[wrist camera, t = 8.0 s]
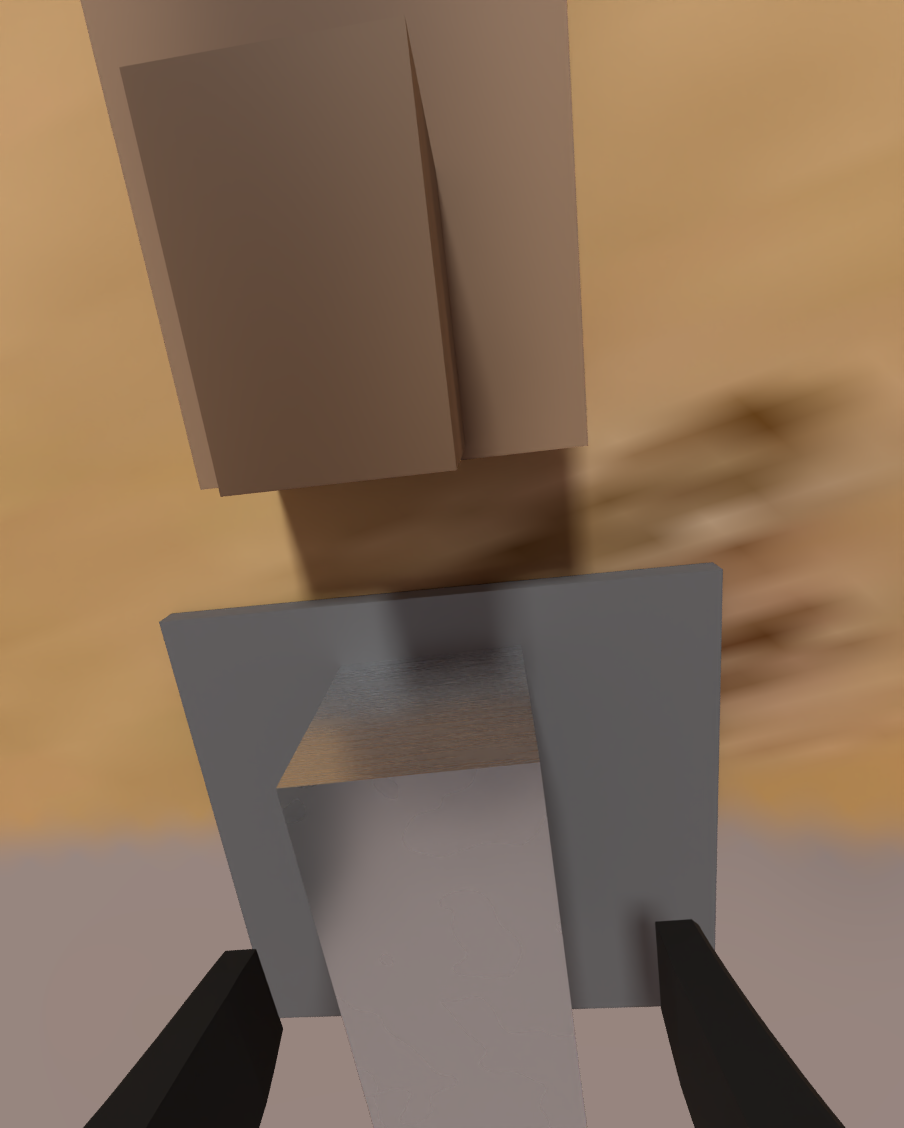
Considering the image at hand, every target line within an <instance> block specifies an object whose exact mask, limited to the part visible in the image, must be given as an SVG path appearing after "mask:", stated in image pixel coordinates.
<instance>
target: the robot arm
mask: <svg viewBox="0 0 904 1128" xmlns="http://www.w3.org/2000/svg"><path fill="white" fill-rule="evenodd" d="M655 930H656V944H657V958H658V972H659V986H660V1000H661V1010H662V1014H663V1018H664V1022H665V1026H666V1029H667V1034H668V1038H669V1042H670V1046H671V1050H672V1054H673V1058H674V1061H675V1065H676V1069H677V1073H678V1076H679V1081H680V1085H681V1088H682V1091H683V1094H684V1097H685V1100H686V1103H687V1106H688V1109H689V1112H690V1115H691V1118H692V1121H693V1124H694V1126H695V1128H845V1126H844V1125H843V1124H842V1123H841V1122H840V1120H839V1119H838V1118H837V1117H836V1115H835V1114H834V1113H833V1112H832V1111H831V1109H830V1108H829V1107H828V1106H827V1104H826V1103H825V1102H824V1100H823V1099H822V1098H821V1097H820V1095H819V1094H818V1093H817V1092H816V1090H815V1089H814V1088H813V1087H812V1085H811V1084H810V1083H809V1082H808V1080H807V1079H806V1078H805V1077H804V1075H803V1074H802V1073H801V1071H800V1070H799V1068H798V1067H797V1066H796V1064H795V1063H794V1062H793V1060H792V1059H791V1058H790V1057H789V1055H788V1054H787V1052H786V1051H785V1050H784V1049H783V1047H782V1046H781V1045H780V1043H779V1042H778V1041H777V1039H776V1038H775V1037H774V1035H773V1034H772V1033H771V1031H770V1030H769V1029H768V1027H767V1026H766V1024H765V1023H764V1022H763V1020H762V1019H761V1018H760V1016H759V1015H758V1014H757V1012H756V1011H755V1009H754V1008H753V1007H752V1005H751V1004H750V1002H749V1001H748V999H747V998H746V996H745V995H744V994H743V992H742V991H741V989H740V988H739V986H738V985H737V984H736V982H735V981H734V979H733V978H732V976H731V975H730V973H729V972H728V970H727V969H726V968H725V966H724V964H723V963H722V961H721V960H720V958H719V957H718V955H717V954H716V952H715V950H714V949H713V947H712V946H711V944H710V943H709V941H708V939H707V938H706V936H705V935H704V933H703V931H702V929H701V928H700V926H699V924H697V923H696V922H695V921H693V920H692V919H686V920H671V921H656V922H655ZM282 1031H283V1027H282V1024H281V1021H280V1018H279V1015H278V1012H277V1009H276V1006H275V1003H274V1000H273V997H272V994H271V991H270V988H269V985H268V982H267V980H266V977H265V974H264V971H263V968H262V965H261V962H260V959H259V956H258V953H257V950H256V949H249V950H248V949H247V950H233V951H225V952H224V953H223V954H222V956H221V957H220V958H219V959H218V961H217V962H216V963H215V964H214V966H213V967H212V968H211V969H210V970H209V972H208V973H207V974H206V976H205V977H204V978H203V979H202V981H201V982H200V983H199V985H198V986H197V987H196V988H195V990H194V991H193V992H192V993H191V995H190V996H189V997H188V999H187V1000H186V1001H185V1002H184V1004H183V1005H182V1006H181V1008H180V1009H179V1010H178V1011H177V1013H176V1014H175V1015H174V1017H173V1018H172V1019H171V1020H170V1022H169V1023H168V1024H167V1025H166V1027H165V1028H164V1029H163V1030H162V1032H161V1033H160V1034H159V1036H158V1037H157V1038H156V1039H155V1041H154V1042H153V1043H152V1044H151V1046H150V1047H149V1048H148V1050H147V1051H146V1052H145V1053H144V1054H143V1056H142V1057H141V1058H140V1059H139V1061H138V1062H137V1063H136V1064H135V1066H134V1067H133V1068H132V1069H131V1071H130V1072H129V1073H128V1074H127V1076H126V1077H125V1078H124V1079H123V1080H122V1082H121V1083H120V1084H119V1086H118V1087H117V1088H116V1089H115V1091H114V1092H113V1093H112V1094H111V1095H110V1096H109V1098H108V1099H107V1100H106V1101H105V1103H104V1104H103V1105H102V1106H101V1107H100V1109H99V1110H98V1111H97V1112H96V1113H95V1114H94V1116H93V1117H92V1118H91V1119H90V1120H89V1121H88V1123H87V1124H86V1125H85V1126H84V1128H259V1126H260V1123H261V1120H262V1116H263V1113H264V1109H265V1107H266V1103H267V1099H268V1095H269V1091H270V1086H271V1082H272V1078H273V1073H274V1069H275V1064H276V1059H277V1055H278V1050H279V1045H280V1041H281V1036H282Z"/></svg>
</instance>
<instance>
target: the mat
mask: <svg viewBox="0 0 904 1128" xmlns="http://www.w3.org/2000/svg"><path fill="white" fill-rule="evenodd" d="M722 580H723V569H721V568H720V567H719V566H717V565H716V564H714V563H713V562H712V563H701V564H691V565H680V566H670V567H659V568H648V569H638V570H627V571H617V572H606V573H596V574H585V575H575V576H564V577H553V578H543V579H532V580H522V581H511V582H501V583H490V584H480V585H469V586H458V587H448V588H437V589H427V590H416V591H406V592H395V593H385V594H374V595H363V596H353V597H342V598H332V599H321V600H311V601H300V602H290V603H279V604H268V605H258V606H247V607H237V608H226V609H216V610H205V611H195V612H184V613H173V614H170V615H169V616H167V617H166V618H164V619H163V620H162V621H160V622H159V623H160V627H161V630H162V634H163V637H164V641H165V644H166V648H167V651H168V655H169V658H170V662H171V665H172V669H173V672H174V676H175V679H176V683H177V686H178V690H179V693H180V697H181V700H182V704H183V707H184V711H185V714H186V718H187V721H188V725H189V728H190V732H191V735H192V739H193V742H194V746H195V749H196V753H197V756H198V760H199V763H200V767H201V770H202V774H203V777H204V781H205V784H206V788H207V791H208V795H209V798H210V802H211V805H212V809H213V812H214V816H215V819H216V823H217V826H218V830H219V833H220V837H221V840H222V844H223V847H224V851H225V854H226V858H227V861H228V865H229V868H230V872H231V875H232V879H233V882H234V886H235V889H236V893H237V896H238V900H239V903H240V907H241V910H242V914H243V917H244V921H245V924H246V928H247V931H248V935H249V938H250V942H251V945H252V949H256V950H257V953H258V956H259V959H260V962H261V965H262V968H263V971H264V974H265V977H266V980H267V982H268V985H269V988H270V991H271V994H272V997H273V1000H274V1003H275V1006H276V1009H277V1012H278V1015H279V1018H291V1017H323V1016H341V1013H340V1009H339V1006H338V1002H337V999H336V995H335V992H334V988H333V985H332V981H331V978H330V975H329V971H328V968H327V964H326V961H325V957H324V954H323V950H322V947H321V943H320V940H319V936H318V933H317V929H316V926H315V922H314V919H313V916H312V912H311V909H310V905H309V902H308V898H307V895H306V891H305V888H304V884H303V881H302V877H301V874H300V870H299V867H298V863H297V860H296V857H295V853H294V850H293V846H292V843H291V839H290V836H289V832H288V829H287V825H286V822H285V818H284V815H283V811H282V808H281V805H280V801H279V798H278V794H277V791H276V787H277V786H278V784H279V782H280V780H281V778H282V776H283V774H284V772H285V770H286V769H287V767H288V765H289V763H290V761H291V759H292V757H293V755H294V754H295V752H296V750H297V748H298V746H299V744H300V742H301V740H302V738H303V737H304V735H305V733H306V731H307V729H308V727H309V725H310V723H311V721H312V720H313V718H314V716H315V714H316V712H317V710H318V708H319V706H320V705H321V703H322V701H323V699H324V697H325V695H326V693H327V691H328V689H329V688H330V686H331V684H332V682H333V680H334V678H335V676H336V674H337V672H338V671H339V669H340V667H341V666H350V665H358V664H366V663H375V662H383V661H392V660H400V659H408V658H417V657H425V656H433V655H442V654H450V653H458V652H467V651H475V650H483V649H492V648H500V647H508V646H517V645H521V648H522V654H523V660H524V666H525V673H526V679H527V685H528V691H529V697H530V704H531V710H532V716H533V722H534V729H535V735H536V741H537V747H538V753H539V760H540V767H541V774H542V782H543V790H544V798H545V805H546V813H547V821H548V828H549V836H550V844H551V852H552V859H553V867H554V875H555V882H556V890H557V898H558V906H559V913H560V921H561V929H562V936H563V944H564V952H565V960H566V967H567V975H568V983H569V990H570V998H571V1006H572V1009H585V1008H618V1007H651V1006H661V1000H660V986H659V972H658V958H657V944H656V930H655V922H656V921H671V920H686V919H692V920H693V921H695V922H696V923H697V924H699V926H700V928H701V929H702V931H703V933H704V935H705V936H706V938H707V939H708V941H709V943H710V944H711V946H712V947H713V949H714V950H715V921H716V872H717V869H716V868H717V824H718V775H719V726H720V677H721V628H722Z"/></svg>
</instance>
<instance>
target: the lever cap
mask: <svg viewBox="0 0 904 1128" xmlns="http://www.w3.org/2000/svg"><path fill="white" fill-rule="evenodd" d="M276 791H277V794H278V798H279V801H280V805H281V808H282V811H283V815H284V818H285V822H286V825H287V829H288V832H289V836H290V839H291V843H292V846H293V850H294V853H295V857H296V860H297V863H298V867H299V870H300V874H301V877H302V881H303V884H304V888H305V891H306V895H307V898H308V902H309V905H310V909H311V912H312V916H313V919H314V922H315V926H316V929H317V933H318V936H319V940H320V943H321V947H322V950H323V954H324V957H325V961H326V964H327V968H328V971H329V975H330V978H331V981H332V985H333V988H334V992H335V995H336V999H337V1002H338V1006H339V1009H340V1013H341V1016H342V1020H343V1023H344V1026H345V1030H346V1033H347V1036H348V1040H349V1044H350V1047H351V1051H352V1054H353V1058H354V1061H355V1065H356V1068H357V1072H358V1075H359V1078H360V1082H361V1085H362V1088H363V1092H364V1096H365V1099H366V1103H367V1106H368V1110H369V1113H370V1116H371V1120H372V1124H373V1127H374V1128H587V1122H586V1114H585V1106H584V1098H583V1091H582V1083H581V1075H580V1068H579V1060H578V1053H577V1044H576V1037H575V1029H574V1021H573V1014H572V1006H571V998H570V990H569V983H568V975H567V967H566V960H565V952H564V944H563V936H562V929H561V921H560V913H559V906H558V898H557V890H556V882H555V875H554V867H553V859H552V852H551V844H550V836H549V828H548V821H547V813H546V805H545V798H544V790H543V782H542V774H541V767H540V760H539V753H538V747H537V741H536V735H535V729H534V722H533V716H532V710H531V704H530V697H529V691H528V685H527V679H526V673H525V666H524V660H523V654H522V648H521V645H517V646H508V647H500V648H492V649H483V650H475V651H467V652H458V653H450V654H442V655H433V656H425V657H417V658H408V659H400V660H392V661H383V662H375V663H366V664H358V665H350V666H341V667H340V669H339V671H338V672H337V674H336V676H335V678H334V680H333V682H332V684H331V686H330V688H329V689H328V691H327V693H326V695H325V697H324V699H323V701H322V703H321V705H320V706H319V708H318V710H317V712H316V714H315V716H314V718H313V720H312V721H311V723H310V725H309V727H308V729H307V731H306V733H305V735H304V737H303V738H302V740H301V742H300V744H299V746H298V748H297V750H296V752H295V754H294V755H293V757H292V759H291V761H290V763H289V765H288V767H287V769H286V770H285V772H284V774H283V776H282V778H281V780H280V782H279V784H278V786H277V787H276Z"/></svg>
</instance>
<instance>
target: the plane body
mask: <svg viewBox="0 0 904 1128" xmlns="http://www.w3.org/2000/svg"><path fill="white" fill-rule="evenodd" d="M81 4H82V8H83V12H84V17H85V21H86V25H87V29H88V33H89V37H90V41H91V45H92V49H93V53H94V57H95V61H96V65H97V70H98V74H99V78H100V82H101V86H102V90H103V94H104V98H105V102H106V106H107V110H108V114H109V118H110V123H111V127H112V131H113V135H114V139H115V143H116V147H117V151H118V155H119V159H120V163H121V167H122V171H123V175H124V180H125V184H126V188H127V192H128V196H129V200H130V204H131V208H132V212H133V216H134V220H135V224H136V228H137V233H138V237H139V241H140V245H141V249H142V253H143V257H144V261H145V265H146V269H147V273H148V277H149V281H150V286H151V290H152V294H153V298H154V302H155V306H156V310H157V314H158V318H159V322H160V326H161V330H162V334H163V339H164V343H165V347H166V351H167V355H168V359H169V363H170V367H171V371H172V375H173V379H174V383H175V387H176V392H177V396H178V400H179V404H180V408H181V412H182V416H183V420H184V424H185V428H186V432H187V436H188V440H189V444H190V449H191V453H192V457H193V461H194V465H195V469H196V473H197V477H198V481H199V485H200V489H201V490H202V489H211V488H219V492H220V496H221V497H223V496H232V495H241V494H250V493H258V492H267V491H276V490H285V489H294V488H303V487H312V486H321V485H330V484H339V483H348V482H356V481H365V480H374V479H383V478H392V477H401V476H410V475H419V474H428V473H437V472H446V471H454V470H457V468H458V465H459V462H460V460H466V459H475V458H483V457H492V456H501V455H510V454H519V453H527V452H536V451H545V450H554V449H563V448H571V447H580V446H588V436H587V415H586V394H585V373H584V352H583V331H582V310H581V289H580V268H579V247H578V226H577V205H576V184H575V163H574V142H573V121H572V100H571V79H570V58H569V37H568V16H567V0H81Z"/></svg>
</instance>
